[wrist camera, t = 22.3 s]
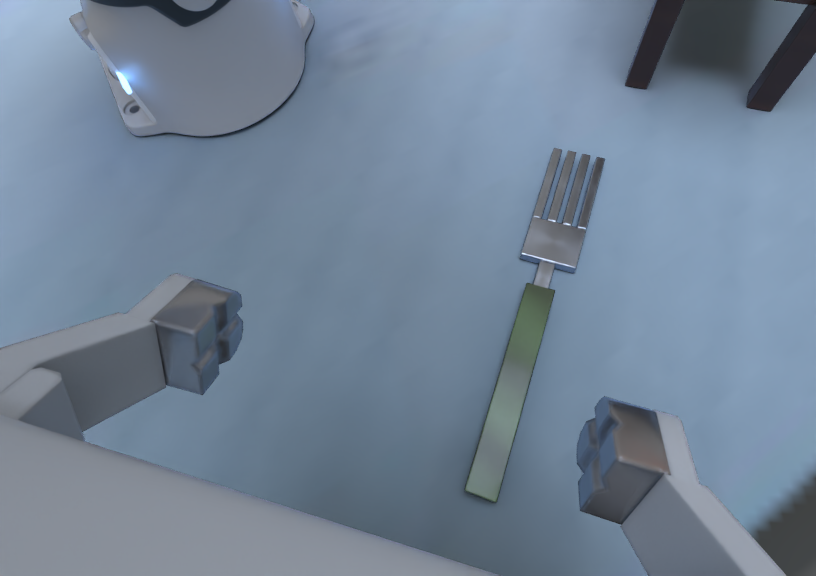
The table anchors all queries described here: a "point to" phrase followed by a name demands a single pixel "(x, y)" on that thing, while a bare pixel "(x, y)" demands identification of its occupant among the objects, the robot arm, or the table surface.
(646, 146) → the table surface
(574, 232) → the fork
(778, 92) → the stand
